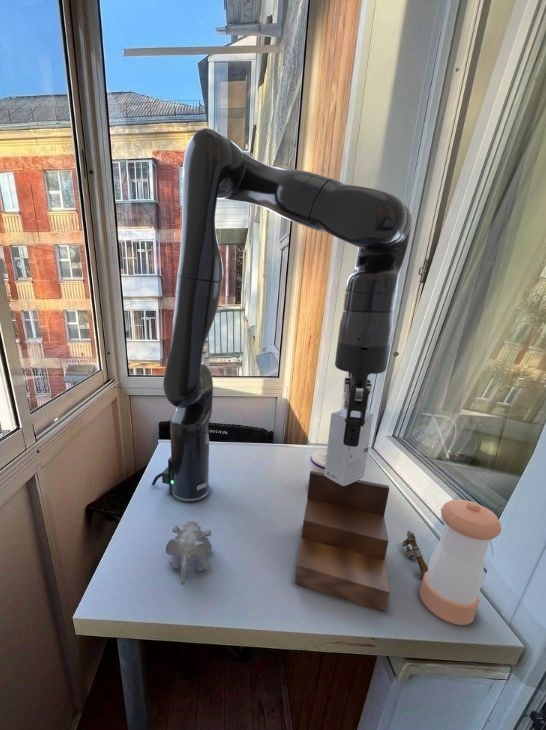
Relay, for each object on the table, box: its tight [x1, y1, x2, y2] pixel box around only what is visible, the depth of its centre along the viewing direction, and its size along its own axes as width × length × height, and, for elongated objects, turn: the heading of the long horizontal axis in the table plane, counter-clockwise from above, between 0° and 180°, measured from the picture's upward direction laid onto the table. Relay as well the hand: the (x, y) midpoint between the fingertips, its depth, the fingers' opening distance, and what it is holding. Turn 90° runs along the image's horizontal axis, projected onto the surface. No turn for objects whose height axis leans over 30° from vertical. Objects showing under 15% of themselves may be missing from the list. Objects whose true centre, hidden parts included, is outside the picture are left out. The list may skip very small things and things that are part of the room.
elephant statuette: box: [165, 520, 213, 586], centre depth 60 cm, size 9×12×8 cm
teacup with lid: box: [307, 449, 327, 486], centre depth 82 cm, size 12×9×12 cm
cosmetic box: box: [324, 408, 374, 486], centre depth 58 cm, size 6×4×12 cm
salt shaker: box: [419, 499, 502, 626], centre depth 51 cm, size 7×7×19 cm
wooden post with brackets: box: [401, 530, 429, 579], centre depth 62 cm, size 2×8×4 cm, turn 177°
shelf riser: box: [294, 470, 391, 612], centre depth 60 cm, size 14×15×14 cm
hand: (349, 435), depth 57 cm, fingers closed on cosmetic box, 7 cm apart
